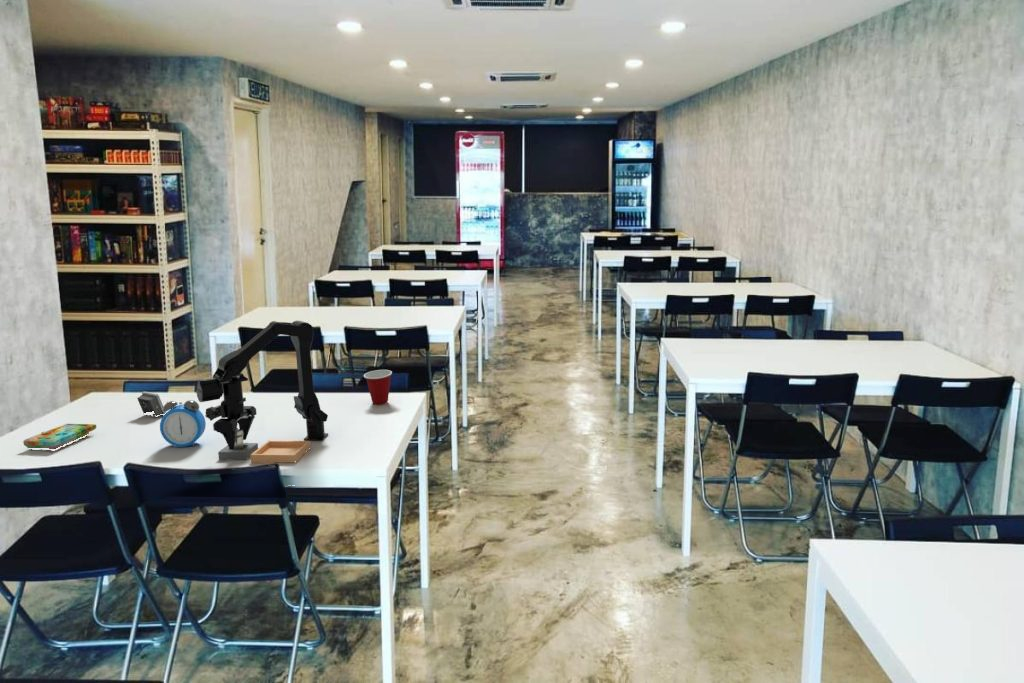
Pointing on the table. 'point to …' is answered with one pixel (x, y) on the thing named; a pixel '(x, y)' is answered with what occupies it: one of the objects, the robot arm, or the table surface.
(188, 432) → the alarm clock
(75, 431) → the puzzle game
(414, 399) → the table surface
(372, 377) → the plastic cup
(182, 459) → the table surface
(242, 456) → the block
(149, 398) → the electrical switch
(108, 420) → the table surface
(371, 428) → the table surface
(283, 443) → the tray
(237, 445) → the cylinder
